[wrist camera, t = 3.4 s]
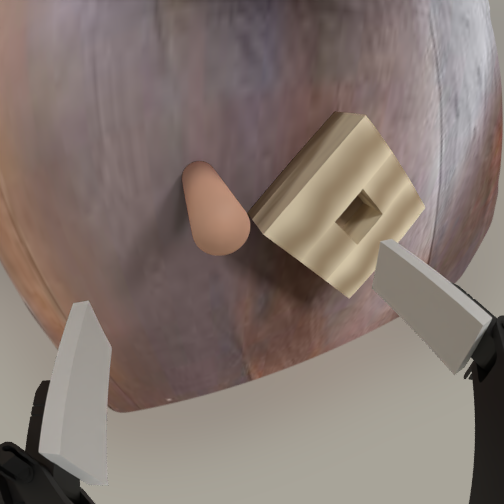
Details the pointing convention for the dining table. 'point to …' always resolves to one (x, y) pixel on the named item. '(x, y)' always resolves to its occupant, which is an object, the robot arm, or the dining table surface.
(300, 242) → the bore block
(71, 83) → the dining table surface
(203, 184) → the pin
